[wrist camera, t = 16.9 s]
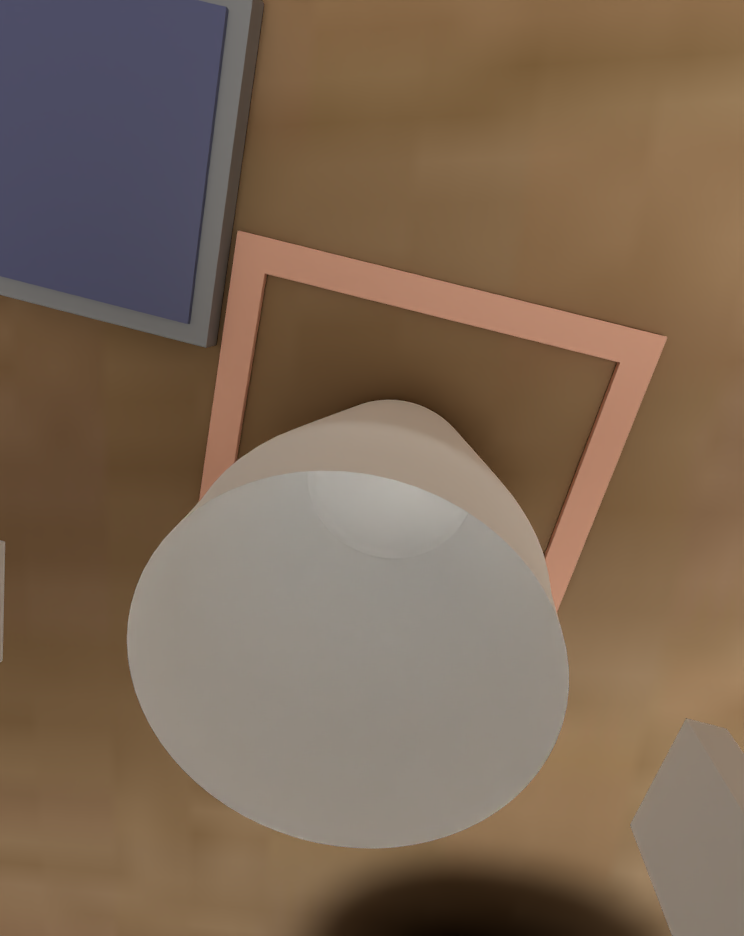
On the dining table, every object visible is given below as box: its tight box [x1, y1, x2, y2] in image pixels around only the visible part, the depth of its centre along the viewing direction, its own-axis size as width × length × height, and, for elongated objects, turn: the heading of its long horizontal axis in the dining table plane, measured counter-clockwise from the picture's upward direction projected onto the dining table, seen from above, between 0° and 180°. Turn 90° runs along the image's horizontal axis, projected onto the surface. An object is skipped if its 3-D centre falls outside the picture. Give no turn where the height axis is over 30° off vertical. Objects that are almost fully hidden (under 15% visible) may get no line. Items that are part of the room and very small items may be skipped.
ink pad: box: [0, 0, 264, 348], centre depth 19 cm, size 11×11×1 cm
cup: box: [127, 400, 569, 848], centre depth 17 cm, size 9×9×12 cm
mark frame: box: [199, 230, 667, 612], centre depth 22 cm, size 15×15×1 cm
